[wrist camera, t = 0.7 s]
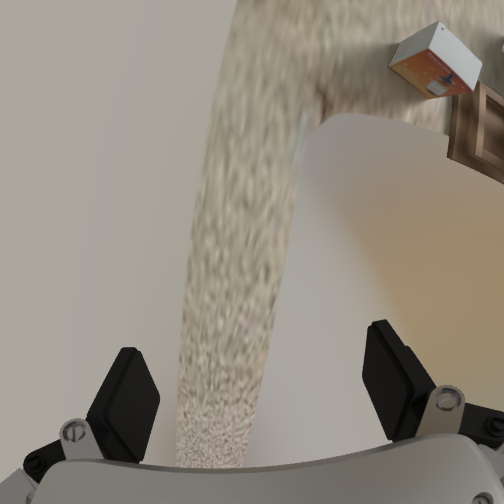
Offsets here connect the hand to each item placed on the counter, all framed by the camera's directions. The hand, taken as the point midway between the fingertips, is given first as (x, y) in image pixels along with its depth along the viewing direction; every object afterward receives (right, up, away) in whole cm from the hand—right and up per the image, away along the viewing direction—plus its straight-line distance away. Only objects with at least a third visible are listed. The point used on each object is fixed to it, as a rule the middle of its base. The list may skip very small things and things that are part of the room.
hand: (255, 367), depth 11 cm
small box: (+23, +31, +20) cm, 43 cm away
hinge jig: (+38, +25, +22) cm, 50 cm away
